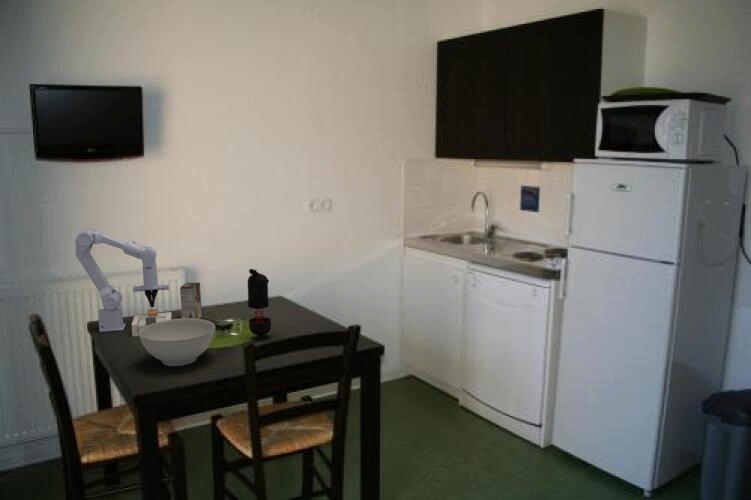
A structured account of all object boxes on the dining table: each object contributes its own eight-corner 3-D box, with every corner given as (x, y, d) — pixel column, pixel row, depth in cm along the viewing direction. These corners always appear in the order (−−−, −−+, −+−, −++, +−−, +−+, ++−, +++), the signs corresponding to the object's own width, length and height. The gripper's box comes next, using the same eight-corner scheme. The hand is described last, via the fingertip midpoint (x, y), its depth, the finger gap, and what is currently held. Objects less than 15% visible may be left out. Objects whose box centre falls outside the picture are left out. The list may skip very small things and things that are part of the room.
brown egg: (147, 322, 268) (146, 312, 267) (148, 319, 272) (147, 309, 272) (158, 321, 269) (157, 311, 269) (158, 318, 274) (158, 308, 273)
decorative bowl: (189, 343, 250) (187, 314, 247) (231, 358, 233) (230, 327, 231) (126, 361, 229) (124, 330, 227) (167, 380, 213) (165, 346, 210)
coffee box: (188, 316, 286) (186, 282, 283) (202, 316, 286) (200, 282, 283) (181, 322, 277) (179, 287, 274) (196, 322, 277) (194, 287, 274)
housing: (132, 336, 258) (131, 324, 257) (135, 325, 272) (135, 314, 271) (170, 333, 262) (169, 321, 261) (172, 323, 276) (171, 312, 275)
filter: (263, 343, 250) (261, 270, 244) (243, 340, 253) (240, 268, 247) (279, 332, 262) (277, 263, 257) (260, 330, 265) (257, 261, 260)
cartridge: (138, 333, 258) (137, 319, 257) (140, 326, 267) (139, 312, 266) (164, 330, 261) (163, 317, 260) (165, 324, 270) (164, 310, 269)
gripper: (168, 273, 273) (170, 303, 276) (133, 275, 269) (135, 305, 272) (167, 276, 266) (169, 307, 269) (131, 278, 262) (133, 310, 265)
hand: (152, 306), depth 270 cm, fingers closed
